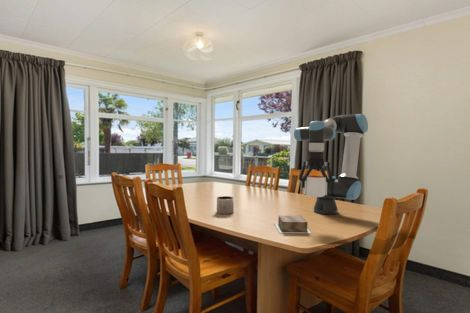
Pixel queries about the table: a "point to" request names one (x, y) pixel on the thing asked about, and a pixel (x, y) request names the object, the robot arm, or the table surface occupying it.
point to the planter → (225, 205)
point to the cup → (315, 186)
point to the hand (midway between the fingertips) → (315, 194)
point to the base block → (292, 224)
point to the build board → (291, 232)
